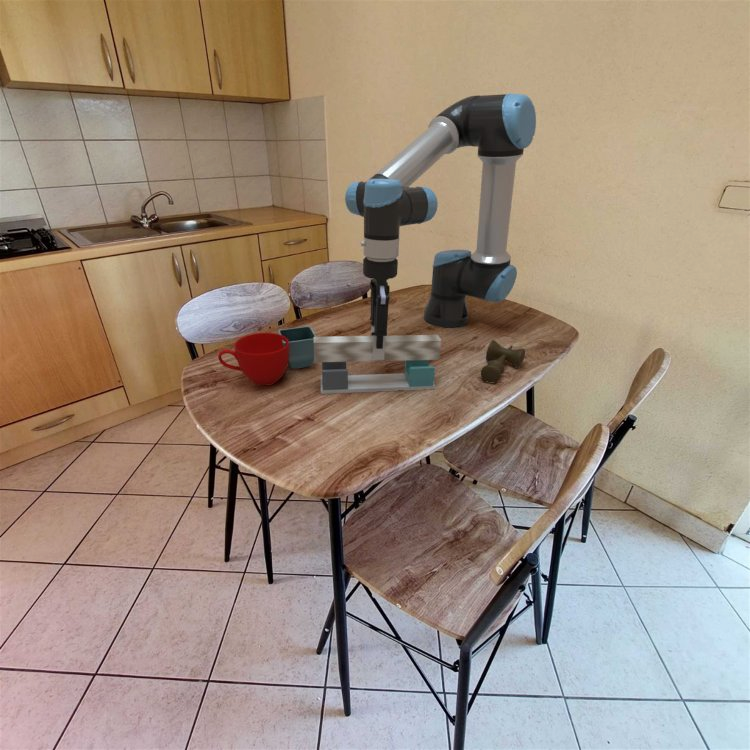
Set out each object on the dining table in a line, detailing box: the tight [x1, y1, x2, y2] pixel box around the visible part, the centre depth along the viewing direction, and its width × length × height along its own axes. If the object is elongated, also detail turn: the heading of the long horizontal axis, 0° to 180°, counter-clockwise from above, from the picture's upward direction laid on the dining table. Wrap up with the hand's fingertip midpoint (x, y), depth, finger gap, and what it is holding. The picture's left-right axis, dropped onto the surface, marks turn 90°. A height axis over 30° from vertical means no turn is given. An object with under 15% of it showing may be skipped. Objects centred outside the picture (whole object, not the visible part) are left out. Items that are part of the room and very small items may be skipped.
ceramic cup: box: [217, 332, 289, 386], centre depth 107 cm, size 13×17×10 cm
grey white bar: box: [313, 334, 442, 363], centre depth 104 cm, size 30×4×5 cm, turn 96°
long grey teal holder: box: [320, 360, 436, 395], centre depth 107 cm, size 28×7×6 cm, turn 97°
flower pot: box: [277, 325, 317, 370], centre depth 115 cm, size 9×9×9 cm
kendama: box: [480, 339, 526, 384], centre depth 117 cm, size 6×10×20 cm
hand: (377, 355), depth 105 cm, fingers closed on grey white bar, 3 cm apart
